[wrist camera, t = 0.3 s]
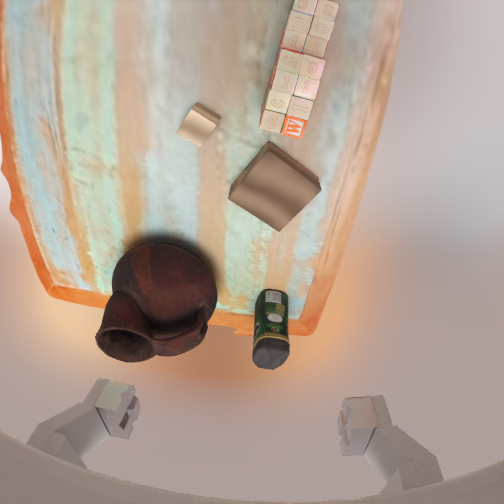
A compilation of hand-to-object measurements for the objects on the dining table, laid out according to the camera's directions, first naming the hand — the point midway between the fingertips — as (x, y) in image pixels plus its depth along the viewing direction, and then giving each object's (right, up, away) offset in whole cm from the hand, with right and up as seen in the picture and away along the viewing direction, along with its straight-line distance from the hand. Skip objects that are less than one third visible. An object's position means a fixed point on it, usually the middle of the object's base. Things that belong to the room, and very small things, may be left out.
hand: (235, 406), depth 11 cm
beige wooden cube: (-8, +29, +42) cm, 52 cm away
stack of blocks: (+8, +38, +34) cm, 52 cm away
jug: (-19, +2, +66) cm, 69 cm away
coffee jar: (+6, -7, +72) cm, 72 cm away
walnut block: (+5, +19, +50) cm, 54 cm away
